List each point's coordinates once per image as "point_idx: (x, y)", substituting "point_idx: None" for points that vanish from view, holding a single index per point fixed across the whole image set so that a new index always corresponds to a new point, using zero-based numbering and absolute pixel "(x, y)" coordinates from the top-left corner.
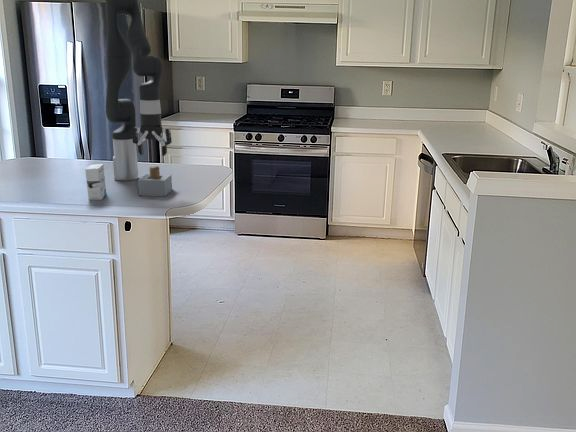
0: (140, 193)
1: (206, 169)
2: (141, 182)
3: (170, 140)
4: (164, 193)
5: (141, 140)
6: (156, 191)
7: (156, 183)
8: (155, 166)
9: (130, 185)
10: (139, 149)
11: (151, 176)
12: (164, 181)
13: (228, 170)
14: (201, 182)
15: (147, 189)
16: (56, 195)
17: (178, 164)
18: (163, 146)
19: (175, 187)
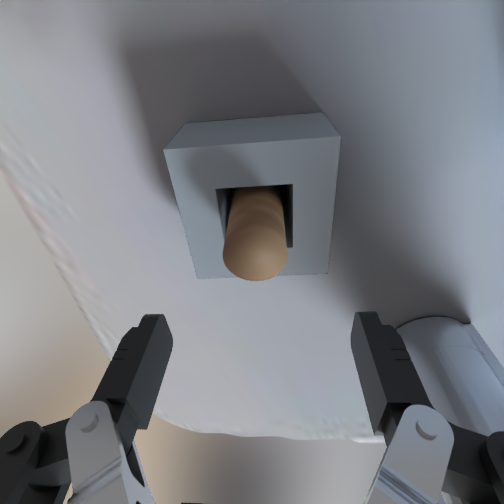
0: (317, 115)
1: (212, 415)
2: (316, 133)
3: (28, 492)
4: (185, 126)
5: (404, 485)
6: (226, 125)
7: (218, 140)
8: (255, 273)
9: (400, 269)
10: (397, 362)
11: (268, 203)
12: (166, 152)
13: None
14: None
15: (277, 124)
16: None
17: (301, 438)
18: (105, 396)
19: None
